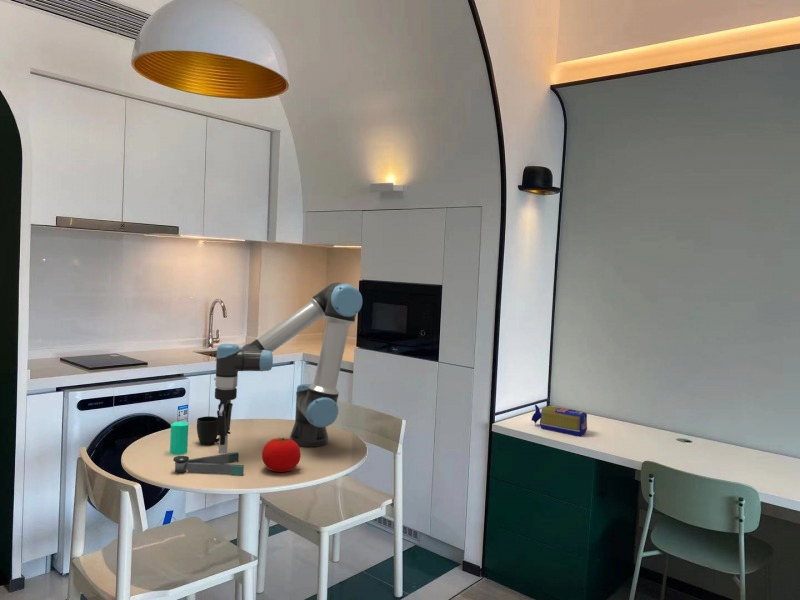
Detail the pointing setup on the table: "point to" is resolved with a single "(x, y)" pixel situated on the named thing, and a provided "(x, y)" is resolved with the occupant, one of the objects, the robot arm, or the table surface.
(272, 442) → the tomato
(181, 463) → the tongs fixed
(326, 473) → the table surface
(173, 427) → the candle
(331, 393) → the robot arm
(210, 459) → the bar
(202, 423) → the mug
